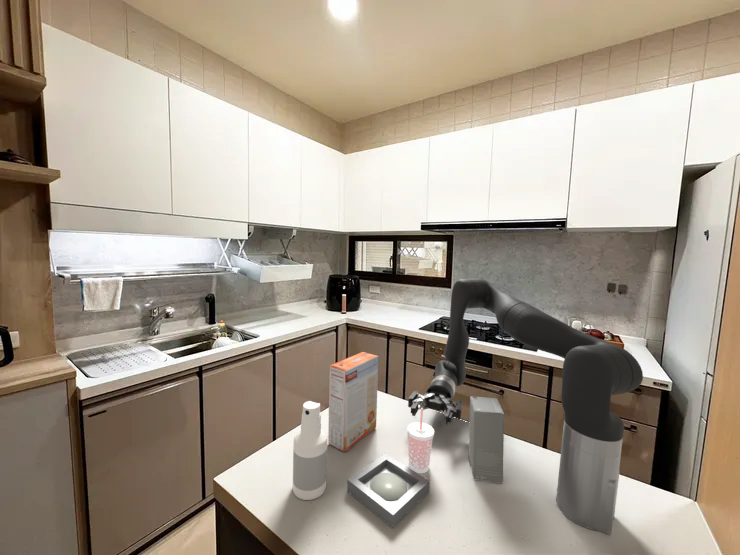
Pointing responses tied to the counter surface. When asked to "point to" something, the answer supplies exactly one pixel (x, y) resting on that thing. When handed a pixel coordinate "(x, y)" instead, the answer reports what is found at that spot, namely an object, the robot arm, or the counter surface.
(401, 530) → the counter surface
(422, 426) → the beverage cup
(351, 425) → the cracker box
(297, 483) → the spray bottle
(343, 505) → the counter surface
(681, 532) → the counter surface
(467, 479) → the counter surface
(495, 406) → the skincare box
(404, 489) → the coaster tray
